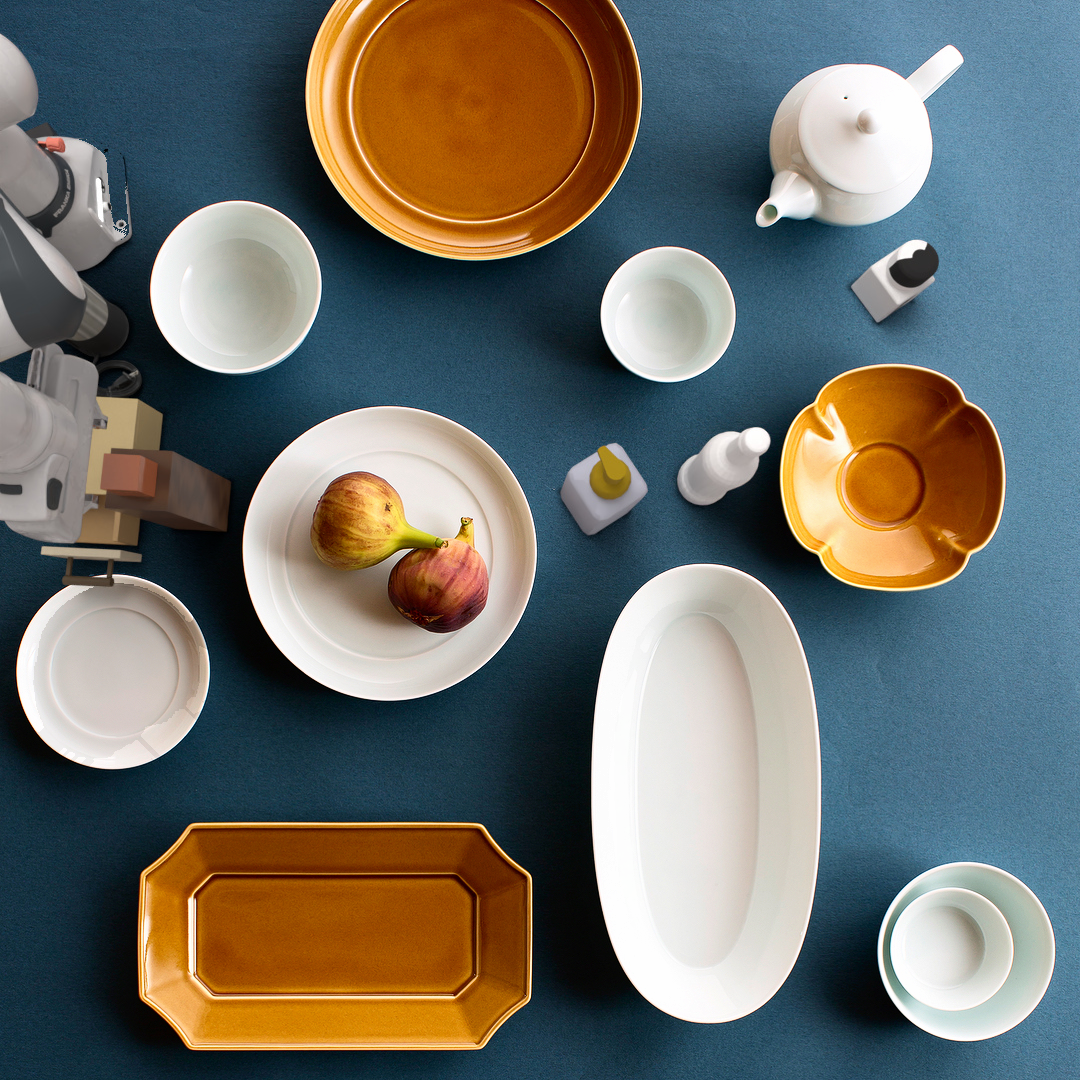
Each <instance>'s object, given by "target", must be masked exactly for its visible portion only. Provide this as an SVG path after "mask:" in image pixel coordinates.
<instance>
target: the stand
mask: <svg viewBox="0 0 1080 1080" xmlns="http://www.w3.org/2000/svg"><path fill="white" fill-rule="evenodd" d="M111 454H125V455H141V456H143V457H145V458H147V459H149V460H151V461H154V462H156V463H158V468H157V478H156V488H155V497H138V496H120V495H117V494H114V493H111V492H108V491H106V500H105V508H106V509H109V510H113V511H116V512H119V513H123V514H126V515H130V516H133V517H136V518H140V520H143V521H147V522H150V523H154V524H156V525H161V526H164V527H167V528H170V529H174V530H187V531H207V532H225V533H226V532H228V531H227V530H228V523H229V522H228V521H229V511H230V501H231V490H232V489H231V488H232V481H230V480H229V479H227V478H225V477H223V476H222V475H219V474H217V473H216V472H214V471H211V470H210V469H208V468H205V467H204V466H202V465H200V464H198V463H196V462H195V461H193V460H190V459H188V458H187V457H185V456H183V455H181V454H179V453H178V452H175V451H173V450H160V449H159V450H141V449H123V448H111Z"/></svg>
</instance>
